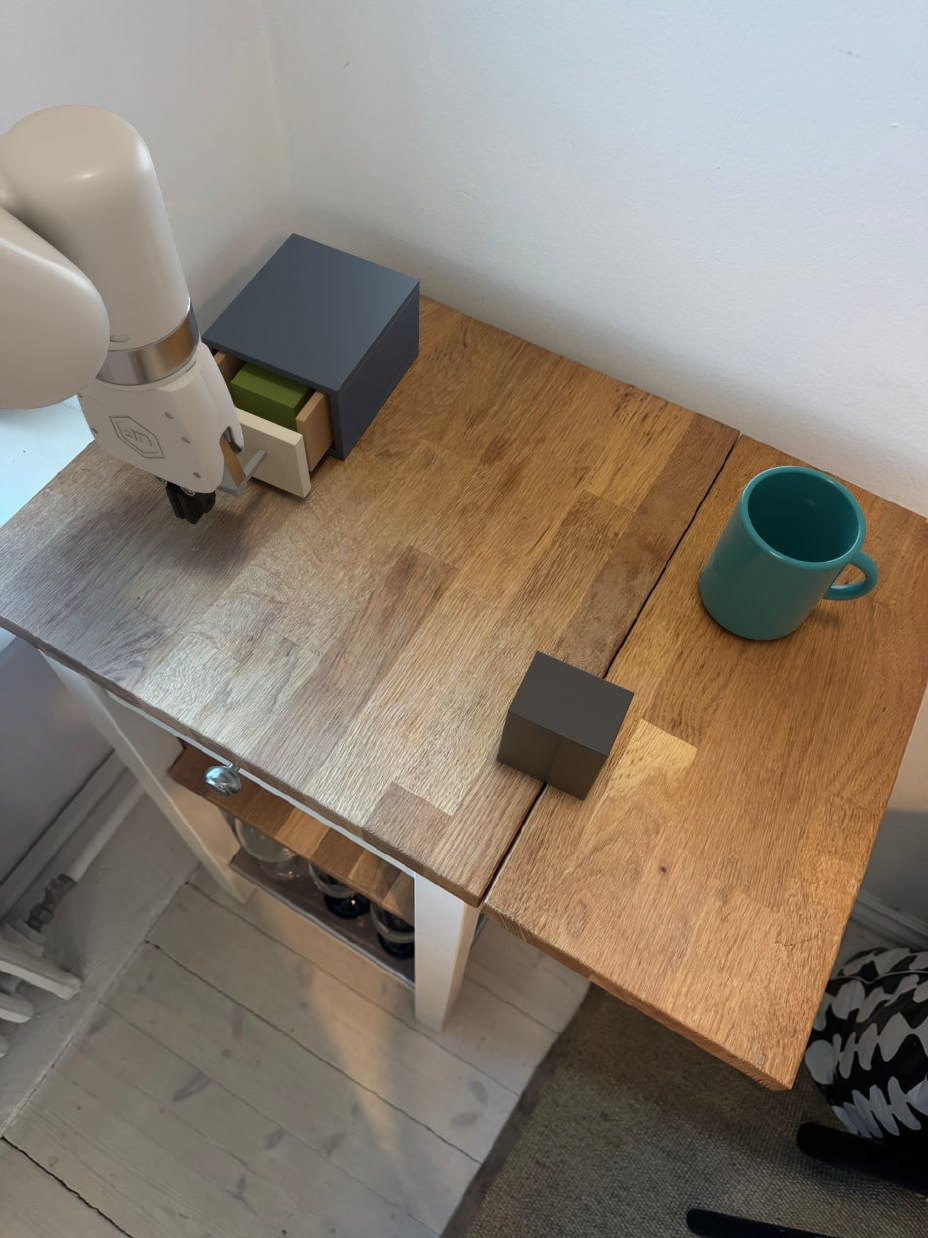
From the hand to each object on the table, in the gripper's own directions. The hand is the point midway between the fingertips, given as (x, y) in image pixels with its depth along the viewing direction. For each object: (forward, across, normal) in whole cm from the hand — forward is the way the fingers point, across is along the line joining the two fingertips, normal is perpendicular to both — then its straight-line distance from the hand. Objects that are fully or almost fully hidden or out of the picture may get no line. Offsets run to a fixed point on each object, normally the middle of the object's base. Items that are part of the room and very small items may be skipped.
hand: (197, 507), depth 70 cm
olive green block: (+2, 0, +12) cm, 12 cm away
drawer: (+3, 0, +11) cm, 11 cm away
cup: (+4, +44, +15) cm, 47 cm away
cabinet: (+4, 0, +19) cm, 20 cm away
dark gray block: (+4, +33, -5) cm, 34 cm away
